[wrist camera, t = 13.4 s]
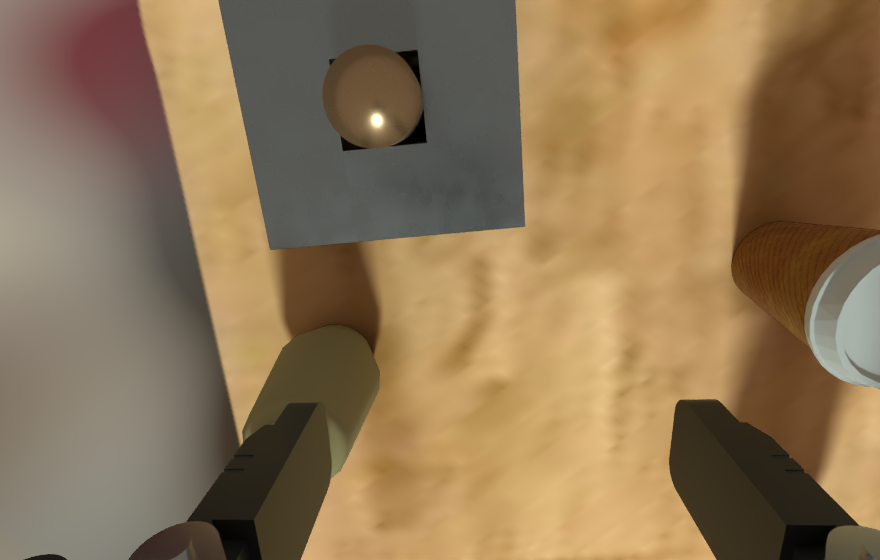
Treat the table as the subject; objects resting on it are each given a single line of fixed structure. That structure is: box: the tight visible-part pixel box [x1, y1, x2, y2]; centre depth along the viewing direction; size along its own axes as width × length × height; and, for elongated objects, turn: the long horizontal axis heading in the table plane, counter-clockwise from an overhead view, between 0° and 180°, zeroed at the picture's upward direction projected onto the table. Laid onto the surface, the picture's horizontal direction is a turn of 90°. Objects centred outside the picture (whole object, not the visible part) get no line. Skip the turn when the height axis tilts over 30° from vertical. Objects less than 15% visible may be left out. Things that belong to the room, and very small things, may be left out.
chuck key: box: [322, 44, 424, 148], centre depth 29 cm, size 5×5×11 cm
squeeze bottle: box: [242, 325, 380, 478], centre depth 31 cm, size 8×8×18 cm
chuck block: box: [218, 0, 525, 250], centre depth 31 cm, size 16×16×7 cm
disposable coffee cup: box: [732, 222, 880, 389], centre depth 31 cm, size 10×10×12 cm
